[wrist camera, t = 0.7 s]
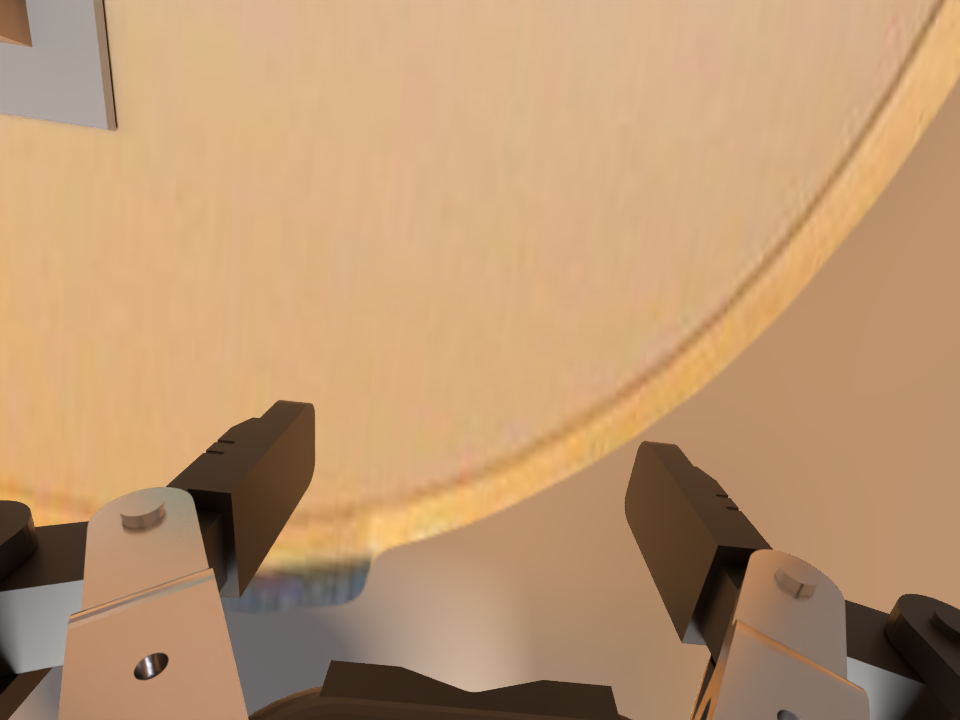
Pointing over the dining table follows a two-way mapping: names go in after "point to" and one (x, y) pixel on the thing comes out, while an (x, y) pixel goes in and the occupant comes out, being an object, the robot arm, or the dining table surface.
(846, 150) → the dining table surface
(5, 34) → the walnut brick
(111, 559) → the robot arm
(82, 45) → the plate
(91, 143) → the dining table surface
